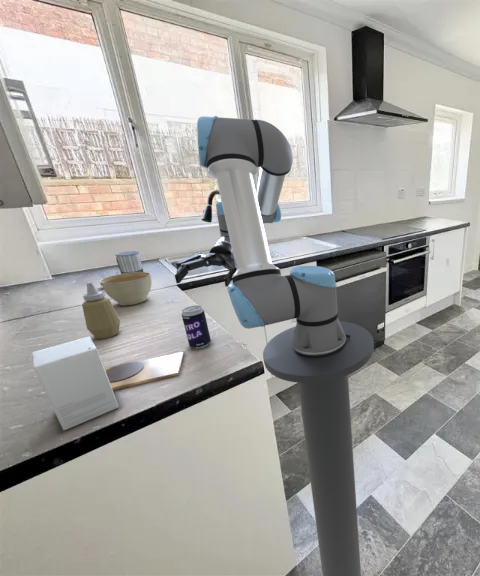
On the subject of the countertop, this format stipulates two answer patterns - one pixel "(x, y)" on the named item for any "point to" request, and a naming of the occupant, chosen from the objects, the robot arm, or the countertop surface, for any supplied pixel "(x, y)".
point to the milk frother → (129, 262)
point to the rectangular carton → (74, 381)
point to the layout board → (144, 370)
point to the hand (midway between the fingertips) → (201, 281)
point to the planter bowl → (128, 287)
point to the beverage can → (196, 326)
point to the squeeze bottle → (99, 313)
